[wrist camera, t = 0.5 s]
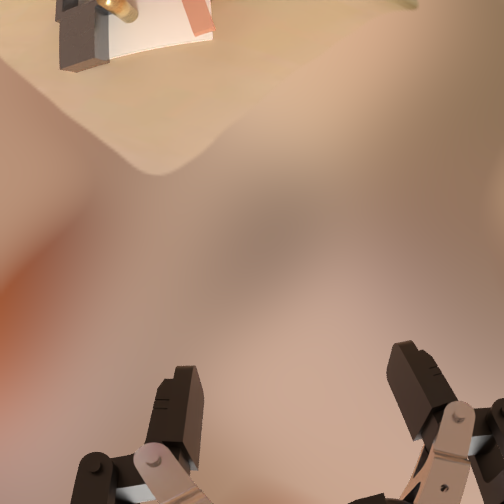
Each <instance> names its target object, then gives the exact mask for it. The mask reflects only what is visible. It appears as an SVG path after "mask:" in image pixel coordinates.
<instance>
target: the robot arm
mask: <svg viewBox="0 0 504 504" xmlns="http://www.w3.org/2000/svg"><path fill="white" fill-rule="evenodd" d="M386 373H387V380H388V382H389V385H390V387H391V390H392V392H393V394H394V396H395V399H396V401H397V403H398V406H399V408H400V410H401V413H402V415H403V418H404V420H405V422H406V425H407V427H408V429H409V432H410V434H411V437H412V439H413V441H416V440H419V439H423V441H424V444H423V446H422V449H421V452H420V455H419V457H418V460H417V463H416V465H415V468H414V471H413V473H412V476H411V478H410V480H409V482H408V484H407V486H406V488H405V489H404V491H403V493H402V495H401V496H400V498H399V499H391V498H385V496H384V493H381V494H378V495H374V496H370V497H367V498H362V499H358V500H355V501H353V502H351V503H348V504H460V501H461V498H462V495H463V492H464V488H465V485H466V481H467V478H468V474H469V470H470V465H471V467H472V469H473V472H474V475H475V478H476V480H477V483H478V486H479V489H480V492H481V495H482V498H483V501H484V504H504V459H503V458H504V398H502V399H498V400H496V402H494V404H493V405H492V407H491V408H478V409H473V408H472V407H471V406H470V405H469V404H468V403H466V402H463V401H458V399H457V398H456V396H455V394H454V393H453V391H452V389H451V388H450V386H449V384H448V382H447V381H446V379H445V377H444V375H443V374H442V372H441V370H440V369H439V367H437V364H436V362H435V361H434V359H433V357H432V356H430V355H429V354H428V353H426V352H425V351H424V350H420V351H418V349H417V347H416V346H415V344H414V343H413V341H411V340H409V341H405V342H400V343H395V344H394V345H393V347H392V351H391V355H390V359H389V362H388V366H387V372H386ZM203 408H204V394H203V389H202V385H201V382H200V378H199V375H198V372H197V368H196V366H177V367H176V369H175V373H174V378H173V379H164V381H163V382H162V383H161V385H160V386H159V387H158V389H157V393H156V397H155V402H154V406H153V410H152V415H151V419H150V423H149V428H148V433H147V438H146V441H145V443H144V445H143V446H141V447H140V448H139V449H138V450H137V451H136V452H135V453H134V454H131V455H127V456H122V457H116V458H109V457H108V456H107V455H106V454H104V453H101V452H92V453H89V454H87V455H86V456H84V458H82V460H81V461H80V464H79V467H78V472H77V476H76V480H75V484H74V489H73V494H72V498H71V504H140V502H146V501H151V500H157V501H158V503H159V504H213V503H212V502H211V500H210V499H209V498H208V497H207V496H206V495H205V494H204V493H203V492H202V490H200V489H199V488H198V486H197V485H196V484H195V483H194V481H193V480H192V479H191V478H190V470H198V466H199V453H200V441H201V430H202V419H203ZM467 456H468V459H469V460H467Z"/></svg>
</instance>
